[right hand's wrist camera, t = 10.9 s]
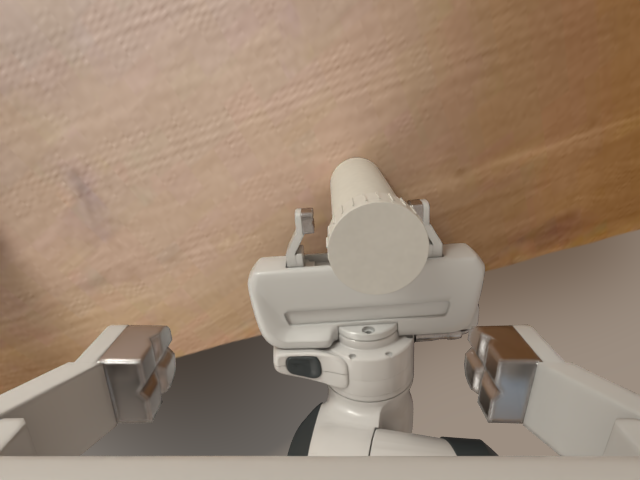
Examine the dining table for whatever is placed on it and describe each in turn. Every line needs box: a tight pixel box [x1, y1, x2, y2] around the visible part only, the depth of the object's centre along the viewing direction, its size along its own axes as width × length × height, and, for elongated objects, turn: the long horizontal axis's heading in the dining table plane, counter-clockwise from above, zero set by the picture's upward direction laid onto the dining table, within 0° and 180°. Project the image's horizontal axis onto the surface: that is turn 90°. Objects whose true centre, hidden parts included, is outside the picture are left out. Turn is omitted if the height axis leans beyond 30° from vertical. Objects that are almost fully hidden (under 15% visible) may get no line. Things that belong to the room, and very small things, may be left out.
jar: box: [330, 158, 397, 216], centre depth 29 cm, size 5×5×15 cm
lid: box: [326, 191, 429, 295], centre depth 23 cm, size 6×6×2 cm
